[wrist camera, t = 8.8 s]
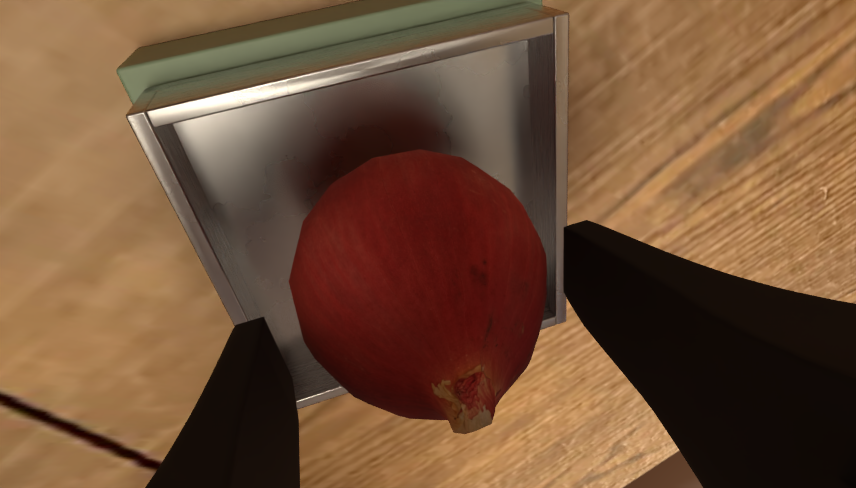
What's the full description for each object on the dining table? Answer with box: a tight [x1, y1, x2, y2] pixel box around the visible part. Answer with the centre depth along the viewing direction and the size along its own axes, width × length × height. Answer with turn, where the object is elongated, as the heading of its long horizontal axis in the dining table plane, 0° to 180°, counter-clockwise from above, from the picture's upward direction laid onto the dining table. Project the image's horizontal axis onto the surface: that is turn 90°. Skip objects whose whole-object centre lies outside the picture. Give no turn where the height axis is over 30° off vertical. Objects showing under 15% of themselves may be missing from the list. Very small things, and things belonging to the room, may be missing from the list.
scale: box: [117, 0, 542, 104], centre depth 17 cm, size 11×11×2 cm
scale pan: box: [126, 2, 569, 409], centre depth 15 cm, size 10×10×2 cm
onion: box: [289, 149, 547, 434], centre depth 11 cm, size 6×6×8 cm
